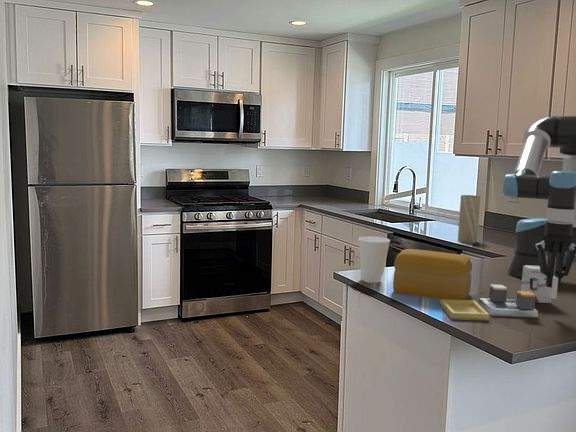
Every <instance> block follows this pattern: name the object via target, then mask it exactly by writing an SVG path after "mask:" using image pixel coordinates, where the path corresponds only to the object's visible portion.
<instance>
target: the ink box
mask: <svg viewBox="0 0 576 432" xmlns="http://www.w3.org/2000/svg"><path fill="white" fill-rule="evenodd" d="M546 278H547V276H546V275H544V274H542V273H541V272H540V266H529V265H525V266H523V274H522V278H521V289H520V291H530V292H532V293H533V294H535V304H537V303H539V304H540V303H542V304H543V303H544V304H551V301H552V299H551V298H550V297H548V287H547V286H546Z"/></svg>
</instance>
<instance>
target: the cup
mask: <svg viewBox="0 0 576 432" xmlns="http://www.w3.org/2000/svg"><path fill="white" fill-rule="evenodd" d="M357 240H358V250H359V261H360V271H361V272H360V273H361V274H362V281H363V282H365V283H369V284H378V283H379V284H380V283H382V277H383V275H384V272H385V266H386V261H387V256H388V253H389V252H388V251H389V247H390V242H391V240H390V238H386V237H381V236H361V237H358V239H357Z"/></svg>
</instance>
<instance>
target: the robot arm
mask: <svg viewBox="0 0 576 432" xmlns="http://www.w3.org/2000/svg"><path fill="white" fill-rule="evenodd" d="M522 145H523V147H522V149H521V152H520V154H519V157H518V160H517V162H516V163H517V164H516V166H515V168H514V171H513V173H510V174H509V173H508V174H505V176H504V178H503V181H502V193H503V195H504V196H506V197H510V198H511V197H512V198H515V199H517V198H521V199H523V198H524V199H539V200H547V206H546V213H545V218H542V217H541V218H540V217H539V218H537V217H536V218H526V219H520V220H518V222H516V226H515V227H516V228H515V240H514V248H513V249H514V252H513V256H512V259H511V260H510V262H509V264H508V268H507V273H508V274H509V275H511V276H513V277H517V278H521V279H522V274H523V266H525V265H529V266H540V272H541V273H542V274H544V275H546V276H547V278H546V286H547V287H548V297H550V298H551V300H554V299H555V300H556V299H557V295H558V294H557V293H558V289H559V288H560V287H561V282H562V279H563V278H564V277H567V276H569V273H570V270H571V268H572V265H573V262H574V259H575V258H576V115H561V116H560V115H558V116H557V115H552V116H546V117H544V118H542V119H539V120H538V121H536V122H534V123H533V124H532V125H531V126H530V127H528V129H527V130H526V131H525V132H524V134H523V138H522ZM549 148H558V149H559V154H560V155H561V156H562V157H563V162H562V170H555V171H554V170H553V171H551V173H550V176H549V175H539V174H540V170H541V166H542V163H543V160H544V157H545V153H546V151H547V150H548V149H549ZM546 252H547V258H546Z"/></svg>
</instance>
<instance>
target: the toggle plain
mask: <svg viewBox="0 0 576 432" xmlns="http://www.w3.org/2000/svg"><path fill="white" fill-rule="evenodd" d="M507 293H508V288H507V287H506V286H504V284H493V283H492V284H489V295H488V298H489V299H491V300H492V301H493V302H506V299H507Z"/></svg>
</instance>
